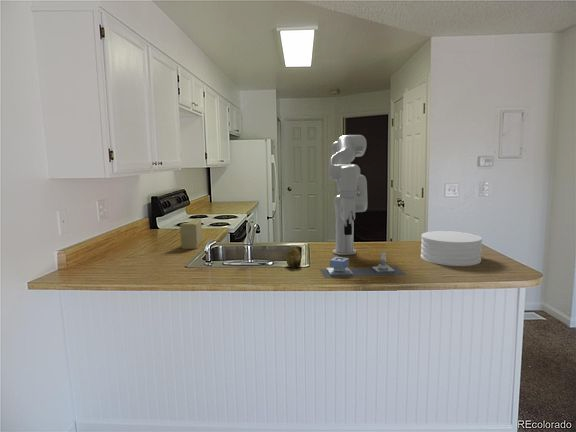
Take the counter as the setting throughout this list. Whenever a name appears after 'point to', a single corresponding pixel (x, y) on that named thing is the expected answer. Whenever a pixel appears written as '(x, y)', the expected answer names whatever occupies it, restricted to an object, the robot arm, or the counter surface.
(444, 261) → the plate stack
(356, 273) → the bench mat
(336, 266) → the square hole block
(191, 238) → the cheese
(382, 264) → the stand
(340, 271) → the hub
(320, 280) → the counter surface
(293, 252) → the potato
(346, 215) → the robot arm
